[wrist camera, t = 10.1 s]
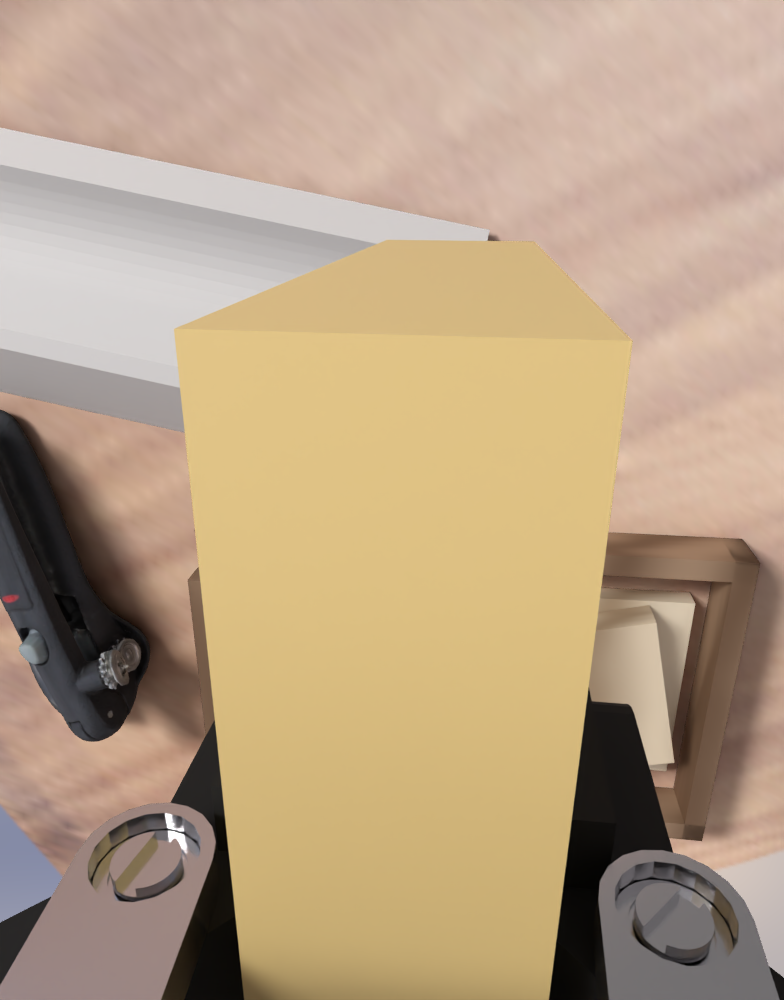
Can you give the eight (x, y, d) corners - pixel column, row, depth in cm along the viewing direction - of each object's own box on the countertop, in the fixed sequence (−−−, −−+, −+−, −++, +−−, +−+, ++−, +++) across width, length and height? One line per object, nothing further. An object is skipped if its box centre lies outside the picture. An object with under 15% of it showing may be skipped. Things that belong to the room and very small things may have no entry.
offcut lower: (685, 585, 37) (695, 603, 35) (658, 747, 40) (666, 771, 39) (521, 576, 37) (523, 594, 36) (510, 736, 41) (511, 758, 40)
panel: (534, 241, 12) (633, 340, 4) (492, 810, 17) (494, 1424, 8) (386, 239, 12) (174, 328, 4) (385, 800, 17) (284, 1385, 9)
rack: (742, 539, 35) (800, 616, 28) (689, 804, 41) (727, 918, 34) (239, 514, 37) (187, 580, 31) (260, 766, 43) (220, 866, 37)
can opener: (184, 687, 42) (141, 756, 37) (76, 703, 43) (20, 771, 38) (61, 386, 36) (-11, 418, 31) (-61, 416, 37) (-148, 451, 32)
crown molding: (488, 233, 32) (489, 237, 28) (430, 487, 36) (424, 517, 33) (-208, 87, 33) (-288, 75, 29) (-177, 353, 37) (-242, 369, 34)
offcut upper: (649, 605, 35) (656, 622, 34) (667, 741, 38) (674, 762, 36) (522, 622, 36) (524, 640, 35) (548, 753, 39) (551, 774, 38)
